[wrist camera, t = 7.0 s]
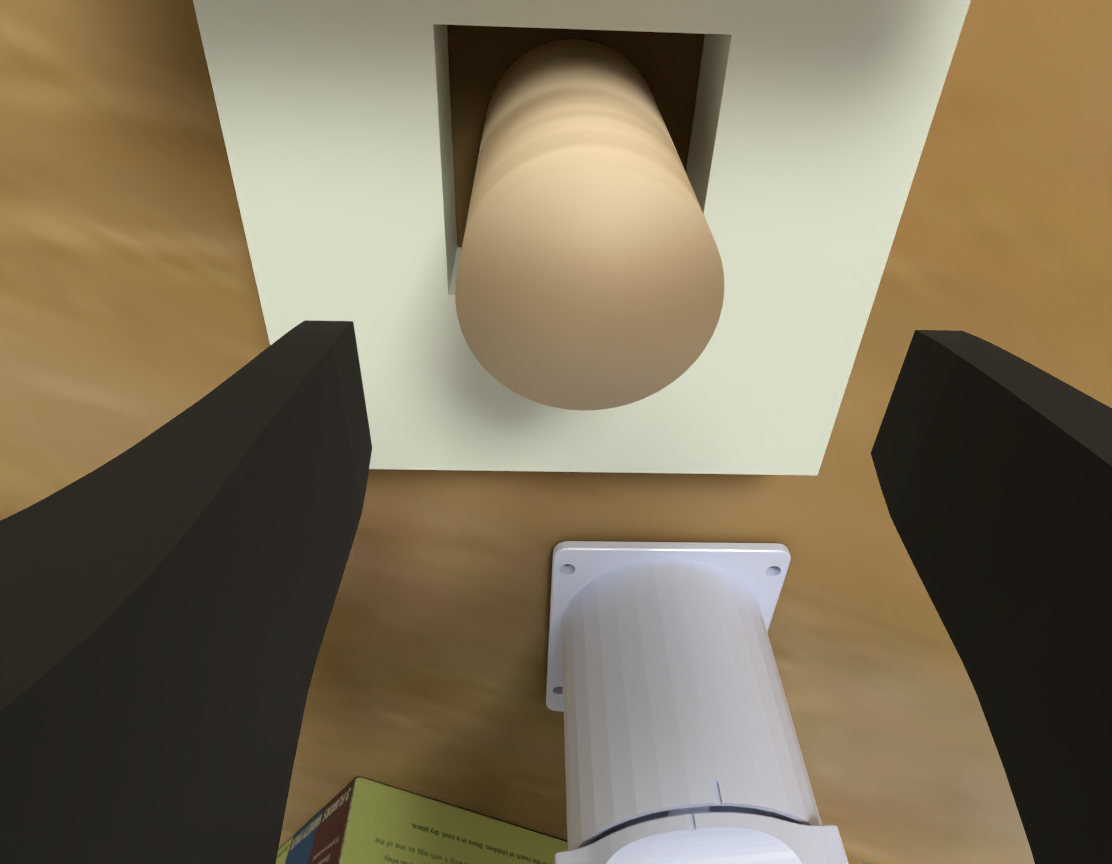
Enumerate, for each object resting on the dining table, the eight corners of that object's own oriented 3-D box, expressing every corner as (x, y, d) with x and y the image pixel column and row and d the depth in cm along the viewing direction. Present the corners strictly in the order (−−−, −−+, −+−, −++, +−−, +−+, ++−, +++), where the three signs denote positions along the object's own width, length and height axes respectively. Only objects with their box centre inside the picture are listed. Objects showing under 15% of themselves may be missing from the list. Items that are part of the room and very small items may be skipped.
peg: (648, 219, 19) (702, 412, 13) (486, 215, 19) (460, 408, 13) (668, 42, 17) (747, 173, 10) (482, 35, 17) (447, 164, 10)
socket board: (793, 419, 23) (817, 475, 21) (318, 412, 23) (297, 468, 21) (1054, -508, 12) (1156, -573, 10) (132, -565, 11) (48, -645, 10)
